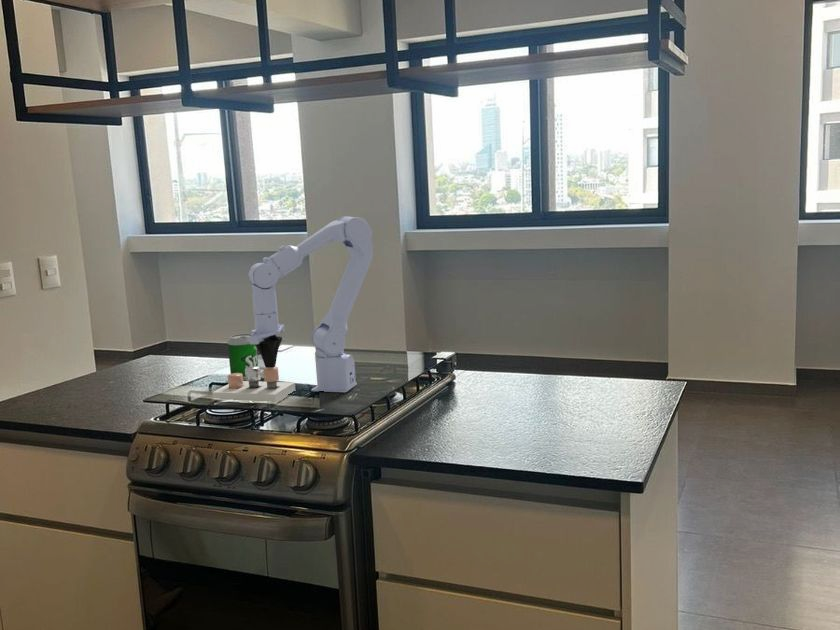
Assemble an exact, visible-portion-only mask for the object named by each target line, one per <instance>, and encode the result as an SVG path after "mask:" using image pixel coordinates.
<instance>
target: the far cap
mask: <svg viewBox="0 0 840 630" xmlns="http://www.w3.org/2000/svg"><path fill="white" fill-rule="evenodd" d="M227 383H228V384H229V388H235V389H239V388H241V387H243V375H242V373H233V374H231V373H229V374H228V375H227Z"/></svg>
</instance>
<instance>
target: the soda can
mask: <svg viewBox="0 0 840 630" xmlns="http://www.w3.org/2000/svg"><path fill="white" fill-rule="evenodd" d="M251 335H252V333H239V334H234V335H231V336H230V337H229V338H228V339H227V350H228V351H227V352H228V359H229V370H230V373H229V374H233V373H242V375H243V381H244V380H246V375H245V368H246V367H250V366H259V360H258V351H257V350H258V348H257V347H256V345H255V344H250V339H249V336H251Z"/></svg>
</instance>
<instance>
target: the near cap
mask: <svg viewBox="0 0 840 630" xmlns="http://www.w3.org/2000/svg"><path fill="white" fill-rule="evenodd" d="M262 371H263V382H267V389H276V388H277V382H279V380H280V375H279V367H278V366H275V367H273V368H266V367H265V366H264V367H263V368H262Z"/></svg>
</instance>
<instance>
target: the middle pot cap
mask: <svg viewBox="0 0 840 630" xmlns="http://www.w3.org/2000/svg"><path fill="white" fill-rule="evenodd" d="M245 375H246V381H249V388H250V389H254V388H258V387H259V381H260V380H261V379H262V378H261V377H262V376H261V367H260V366H259V365H258V366H250V367H246V368H245Z"/></svg>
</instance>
